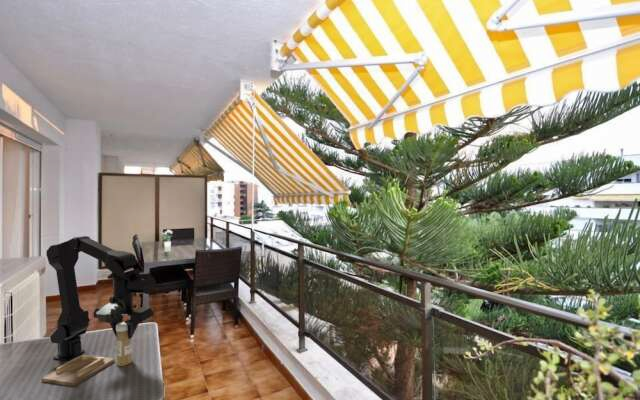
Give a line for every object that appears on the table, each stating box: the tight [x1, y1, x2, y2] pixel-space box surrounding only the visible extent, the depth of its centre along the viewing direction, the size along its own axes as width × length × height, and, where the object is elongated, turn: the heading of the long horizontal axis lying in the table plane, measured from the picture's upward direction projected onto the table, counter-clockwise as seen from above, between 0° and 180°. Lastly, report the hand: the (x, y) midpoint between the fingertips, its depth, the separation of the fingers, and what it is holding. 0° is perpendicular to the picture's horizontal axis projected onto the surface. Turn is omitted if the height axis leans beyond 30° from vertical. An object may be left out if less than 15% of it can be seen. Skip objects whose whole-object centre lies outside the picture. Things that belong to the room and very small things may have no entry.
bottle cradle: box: [41, 354, 115, 387], centre depth 100 cm, size 12×14×2 cm
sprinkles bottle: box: [115, 321, 133, 367], centre depth 104 cm, size 5×5×14 cm
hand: (124, 337), depth 104 cm, fingers open, 5 cm apart
